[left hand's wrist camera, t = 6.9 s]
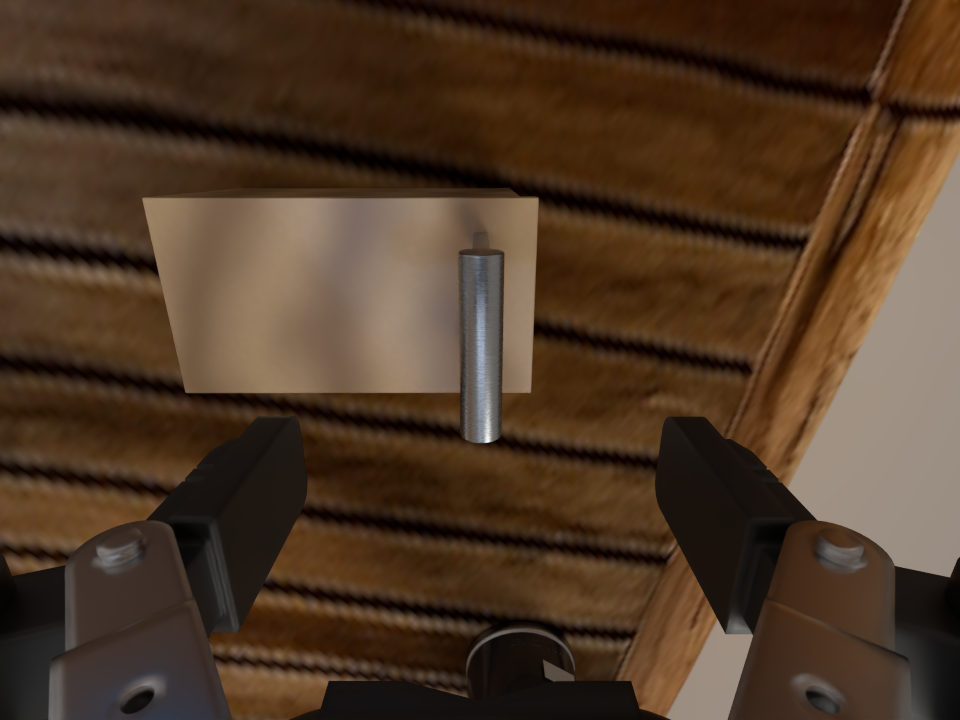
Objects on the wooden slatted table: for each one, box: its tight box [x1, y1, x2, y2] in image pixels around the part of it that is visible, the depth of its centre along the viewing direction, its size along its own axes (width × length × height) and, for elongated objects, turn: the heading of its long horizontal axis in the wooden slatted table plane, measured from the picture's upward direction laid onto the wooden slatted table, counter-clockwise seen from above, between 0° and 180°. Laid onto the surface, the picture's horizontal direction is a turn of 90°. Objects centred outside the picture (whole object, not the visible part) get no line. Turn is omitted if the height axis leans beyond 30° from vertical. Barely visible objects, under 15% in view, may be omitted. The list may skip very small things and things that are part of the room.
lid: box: [142, 197, 539, 443], centre depth 21 cm, size 17×9×8 cm, turn 90°
